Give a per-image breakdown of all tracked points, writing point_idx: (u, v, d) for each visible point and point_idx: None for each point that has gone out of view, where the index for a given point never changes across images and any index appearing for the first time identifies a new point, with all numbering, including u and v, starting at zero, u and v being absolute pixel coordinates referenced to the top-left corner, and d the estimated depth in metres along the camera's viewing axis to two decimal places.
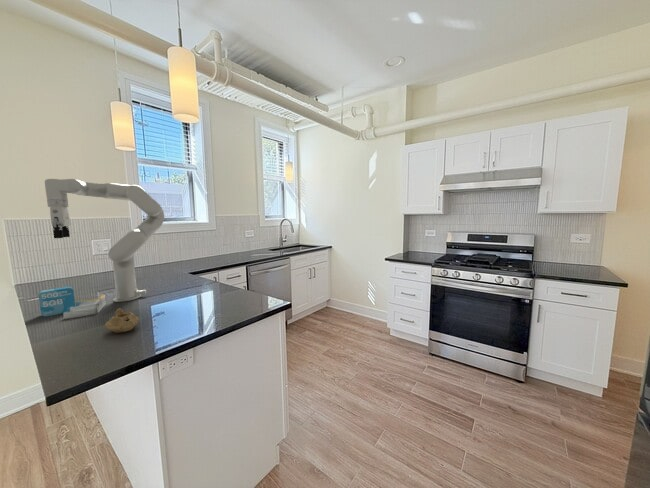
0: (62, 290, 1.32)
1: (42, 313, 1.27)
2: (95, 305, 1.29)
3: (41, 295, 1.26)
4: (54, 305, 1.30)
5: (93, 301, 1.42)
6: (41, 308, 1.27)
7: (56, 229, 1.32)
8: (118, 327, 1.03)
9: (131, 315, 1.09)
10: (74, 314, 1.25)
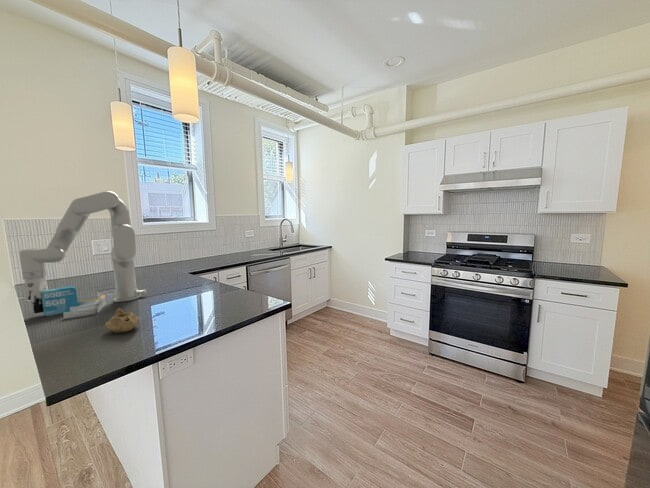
0: (65, 290, 1.32)
1: (45, 312, 1.27)
2: (95, 305, 1.29)
3: (44, 295, 1.27)
4: (57, 305, 1.30)
5: (93, 301, 1.42)
6: (44, 307, 1.27)
7: (36, 304, 1.27)
8: (118, 327, 1.03)
9: (131, 315, 1.09)
10: (74, 314, 1.25)
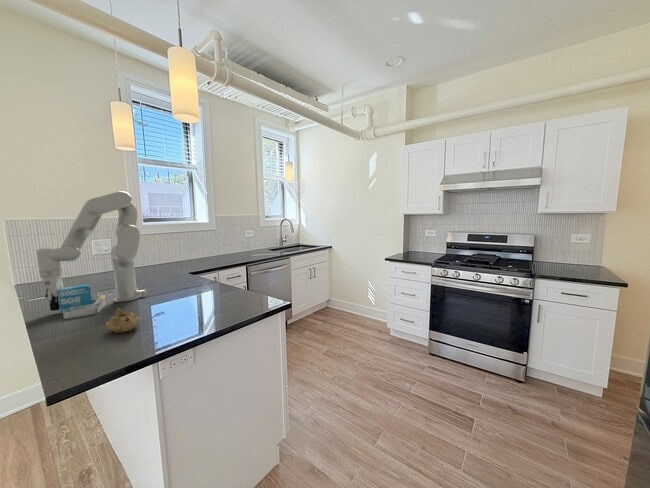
0: (80, 288, 1.34)
1: (61, 310, 1.30)
2: (95, 305, 1.29)
3: (60, 293, 1.29)
4: (72, 303, 1.33)
5: (93, 301, 1.42)
6: (60, 305, 1.30)
7: (53, 302, 1.30)
8: (118, 327, 1.03)
9: (131, 315, 1.09)
10: (74, 314, 1.25)
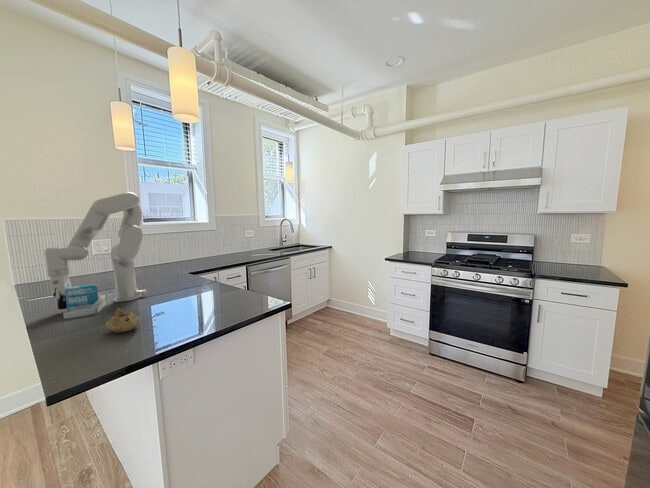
0: (87, 287, 1.35)
1: (68, 309, 1.31)
2: (95, 305, 1.29)
3: (67, 292, 1.31)
4: (79, 302, 1.34)
5: None
6: (67, 304, 1.31)
7: (60, 301, 1.31)
8: (118, 327, 1.03)
9: (131, 315, 1.09)
10: (74, 314, 1.25)
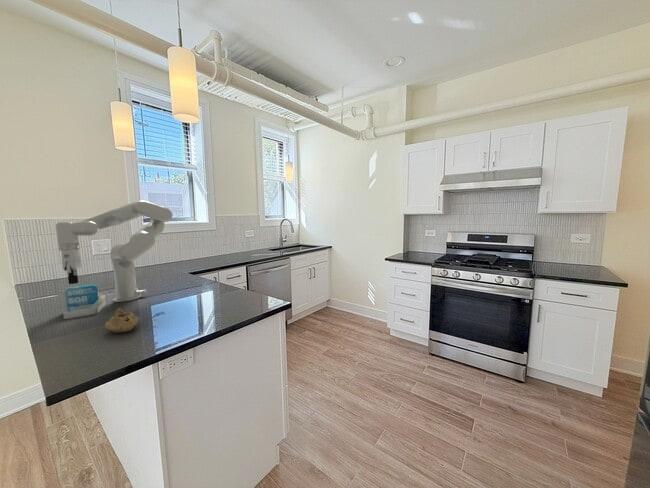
0: (87, 287, 1.35)
1: (68, 309, 1.31)
2: (95, 305, 1.29)
3: (67, 292, 1.31)
4: (79, 302, 1.34)
5: None
6: (67, 304, 1.31)
7: (71, 275, 1.32)
8: (118, 327, 1.03)
9: (131, 315, 1.09)
10: (74, 314, 1.25)
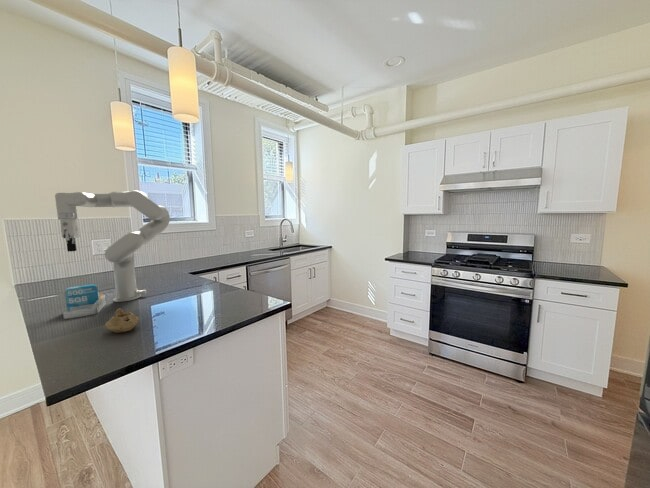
0: (87, 287, 1.35)
1: (68, 309, 1.31)
2: (95, 305, 1.29)
3: (67, 292, 1.31)
4: (79, 302, 1.34)
5: None
6: (67, 304, 1.31)
7: (69, 243, 1.41)
8: (118, 327, 1.03)
9: (131, 315, 1.09)
10: (74, 314, 1.25)
